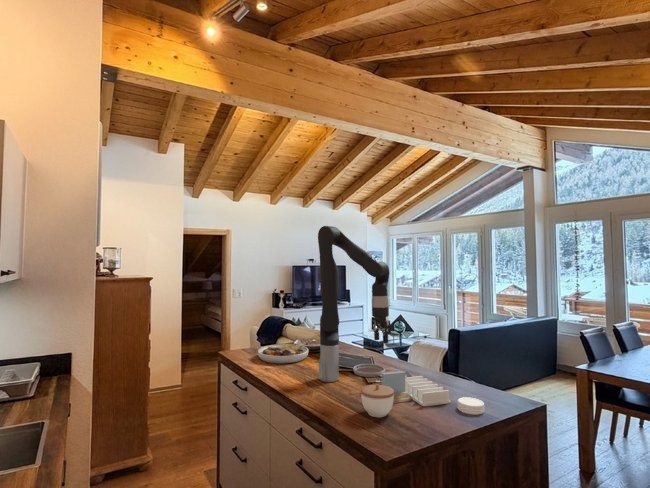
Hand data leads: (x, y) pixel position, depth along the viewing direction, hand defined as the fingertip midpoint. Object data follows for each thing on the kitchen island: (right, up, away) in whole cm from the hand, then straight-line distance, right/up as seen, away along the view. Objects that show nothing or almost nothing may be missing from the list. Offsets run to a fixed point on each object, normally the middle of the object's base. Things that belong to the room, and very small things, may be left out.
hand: (381, 341), depth 175 cm
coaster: (+32, -22, -23) cm, 45 cm away
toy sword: (+1, -23, +22) cm, 32 cm away
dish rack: (+17, -22, -7) cm, 28 cm away
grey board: (+4, -20, -11) cm, 24 cm away
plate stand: (+4, -21, -11) cm, 25 cm away
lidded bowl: (-5, -21, -27) cm, 34 cm away
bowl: (-50, -24, +56) cm, 79 cm away
